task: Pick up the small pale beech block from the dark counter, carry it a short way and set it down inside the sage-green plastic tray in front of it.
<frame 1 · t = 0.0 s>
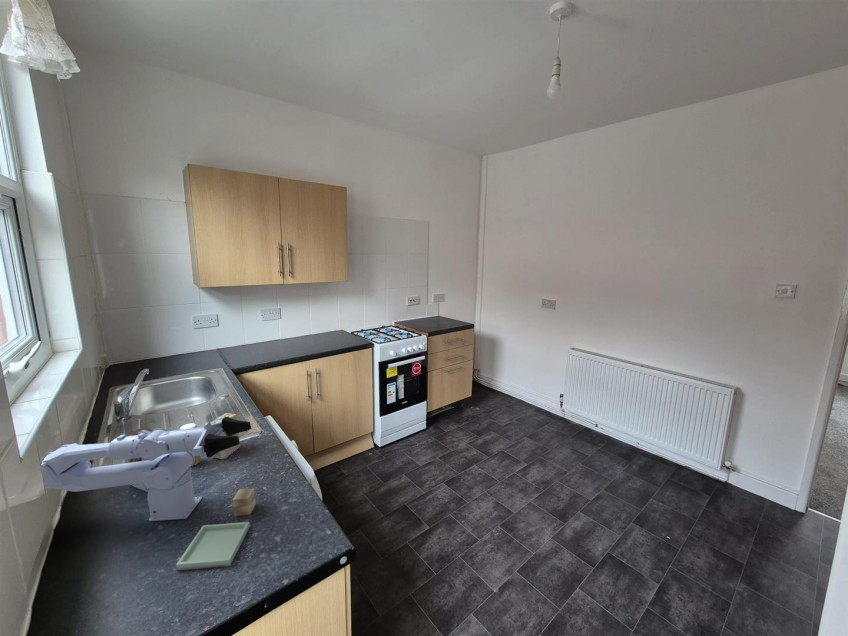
hand: (244, 432, 92), 22 cm above the countertop, tool horizontal, fingers open, 7 cm apart
sprinkles bottle: (193, 463, 115), on the countertop
tray: (216, 547, 82), on the countertop
coffee box: (149, 483, 106), on the countertop
beech block: (245, 510, 94), on the countertop
supplement box: (226, 453, 121), on the countertop
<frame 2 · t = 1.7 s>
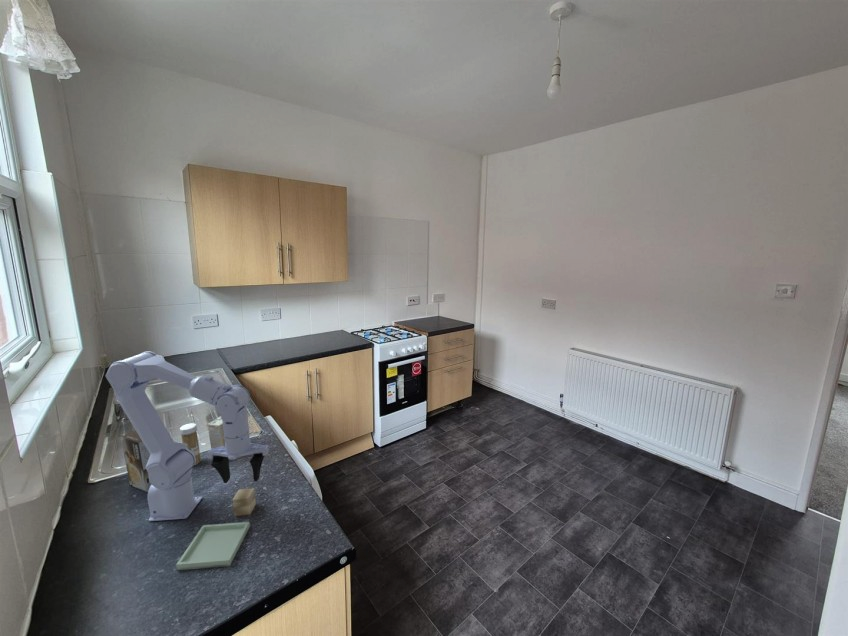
hand: (242, 479, 92), 9 cm above the countertop, tool pointing down, fingers open, 7 cm apart
nothing on the countertop moved.
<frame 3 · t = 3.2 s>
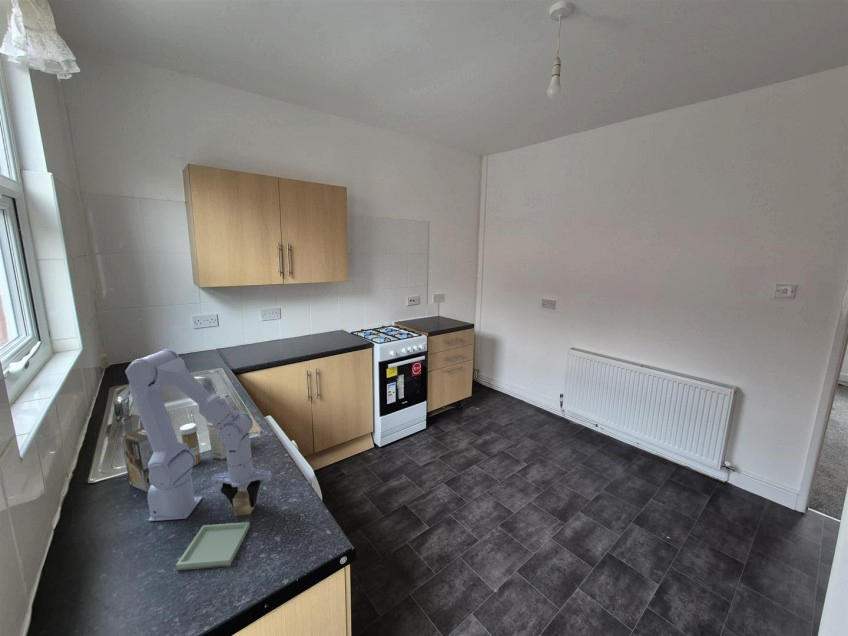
hand: (244, 505, 94), 1 cm above the countertop, tool pointing down, fingers closed on beech block, 4 cm apart
beech block: (245, 509, 94), on the countertop, touching gripper
everything else where it was.
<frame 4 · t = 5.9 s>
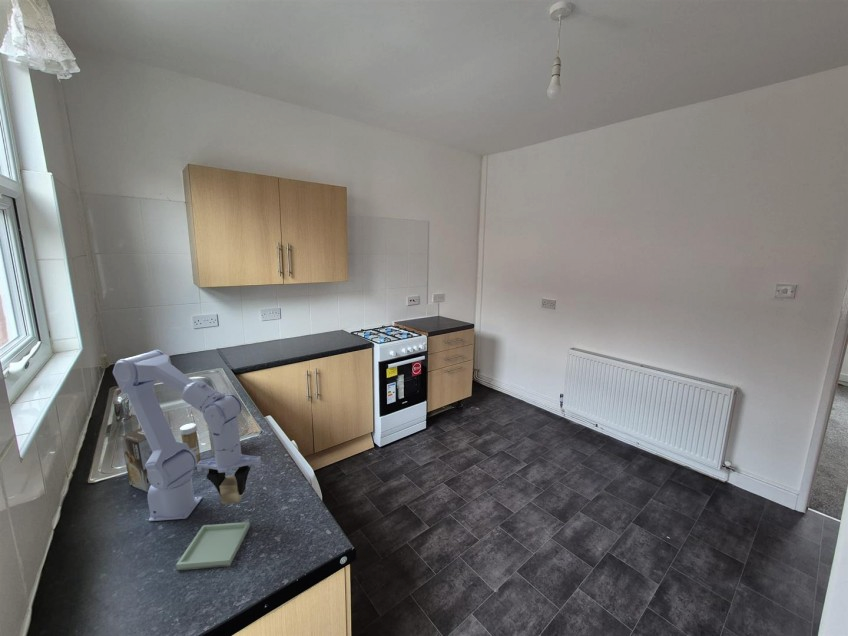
hand: (232, 492, 88), 8 cm above the countertop, tool pointing down, fingers closed on beech block, 4 cm apart
beech block: (233, 497, 89), point 7 cm above the countertop, touching gripper
everything else where it was.
when the fingers open (3 cm above the countertop, at t = 8.5 s): beech block stays where it is, resting on tray.
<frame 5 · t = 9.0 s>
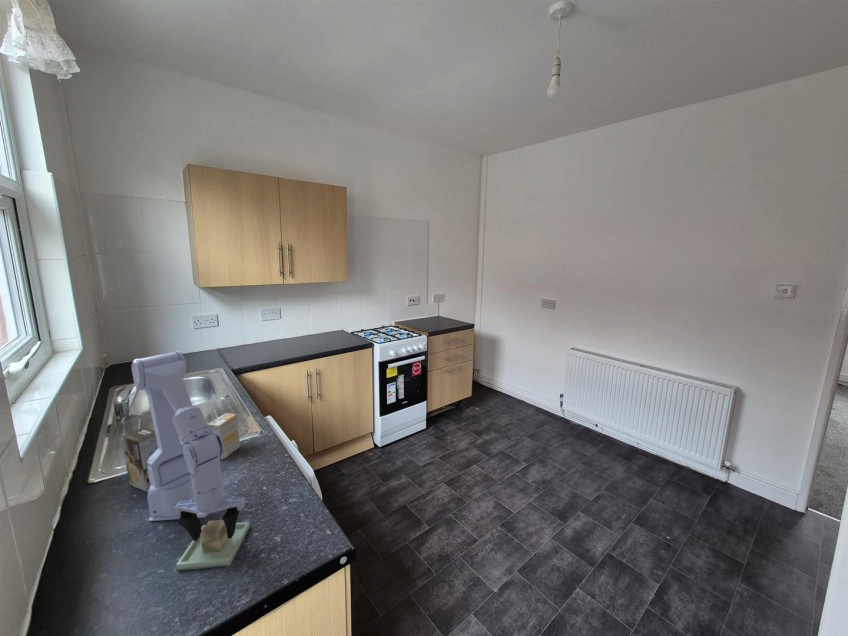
hand: (214, 536, 82), 3 cm above the countertop, tool pointing down, fingers open, 7 cm apart
beech block: (216, 544, 82), resting on tray
everything else where it was.
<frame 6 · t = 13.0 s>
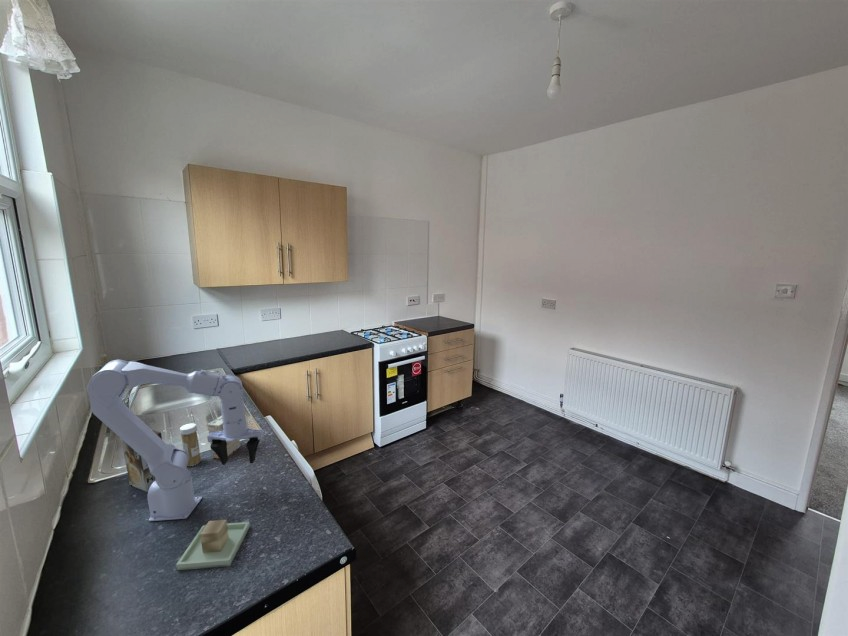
hand: (239, 462, 100), 9 cm above the countertop, tool pointing down, fingers open, 7 cm apart
nothing on the countertop moved.
at the end: beech block inside the target area on the tray (0.1 cm from its centre), point 0.5 cm above the tray's base; beech block tilted 0°; the gripper is holding nothing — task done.
